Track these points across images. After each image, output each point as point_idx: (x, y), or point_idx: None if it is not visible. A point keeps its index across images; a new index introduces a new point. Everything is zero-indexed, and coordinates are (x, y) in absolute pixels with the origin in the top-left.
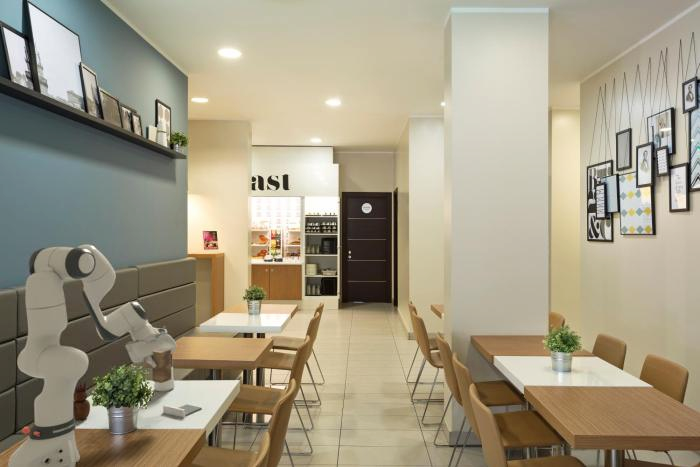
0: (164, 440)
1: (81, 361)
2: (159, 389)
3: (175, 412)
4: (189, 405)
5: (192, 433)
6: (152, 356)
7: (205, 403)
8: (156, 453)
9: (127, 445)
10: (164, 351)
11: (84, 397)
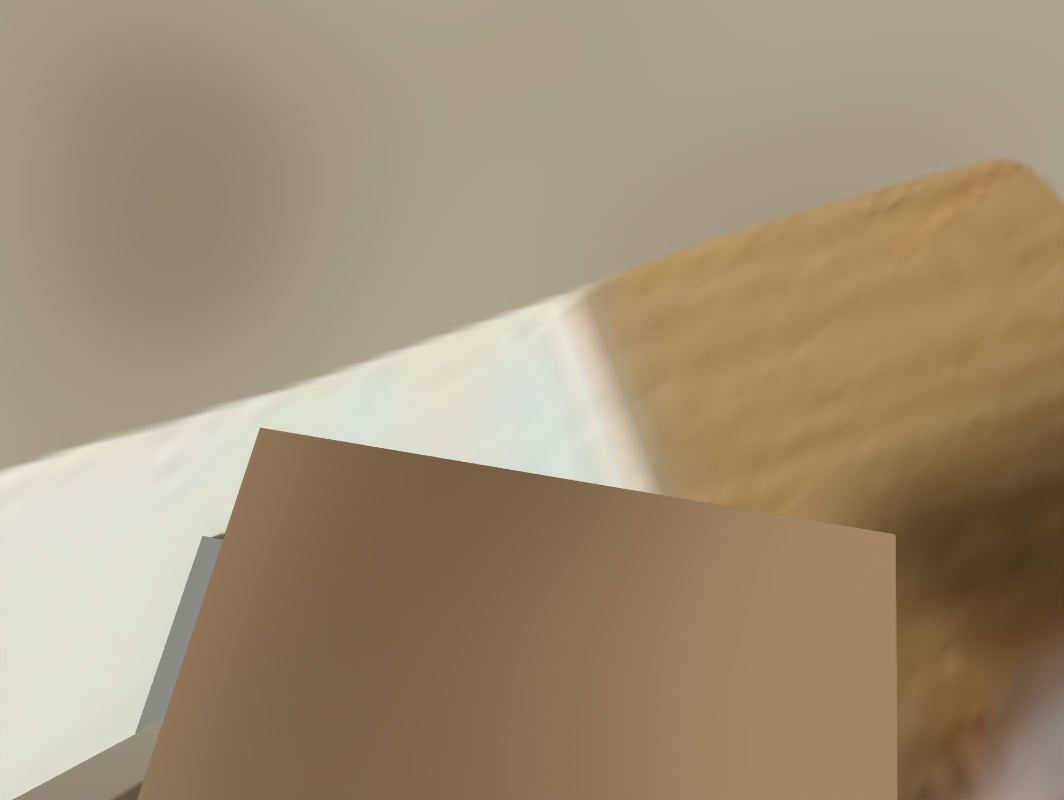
0: (853, 410)
1: None
2: None
3: None
4: (158, 695)
5: (674, 305)
6: None
7: (57, 598)
8: (1027, 326)
9: (1060, 620)
10: (618, 515)
11: None
